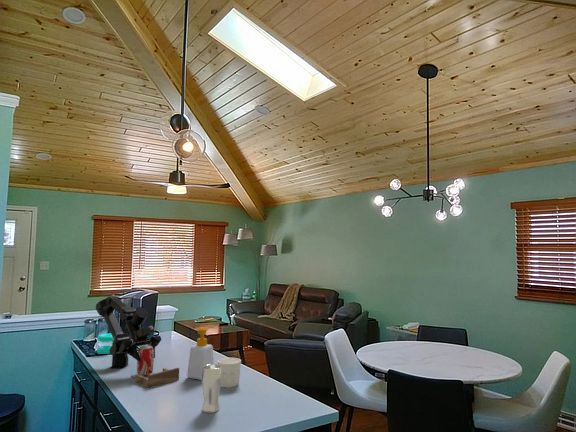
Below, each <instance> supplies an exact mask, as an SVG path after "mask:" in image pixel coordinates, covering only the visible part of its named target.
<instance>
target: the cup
mask: <svg viewBox="0 0 576 432" xmlns="http://www.w3.org/2000/svg"><path fill="white" fill-rule="evenodd" d="M241 364H242V359H240V358H237V357H223V358H219V359H218V360H217V365H220V366H221V387H222V388H223V387H224V388H233V387H234V388H235V387H236V386H238V385H239V384H240V376H241ZM221 387H220V388H221Z"/></svg>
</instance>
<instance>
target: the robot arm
mask: <svg viewBox="0 0 576 432" xmlns="http://www.w3.org/2000/svg"><path fill="white" fill-rule="evenodd" d="M95 310H96V312H97V314H98V315H99V316H100V317H103V318H104V320H105V322H106V324H107V327H108V330H109V332H110V333H111V334H112V336H113V341H112V344H111V346H112V347H111V348H110V350H109V352H110V354H109V355H110V356H112V358H111V359H112V360H111V366H110V369H124V368H126V367H127V366H128V365H129V356H131V357H132V358H133V359H135V360H136V362H137V361H139V362H140V361H141V360H140V356H139V354H138V349H137V347H141V346H146V345H150V346H153V347H152V348H153V350H154V359H155V358H156V347H157V346H159V344H160V343H161V341H162V337H161V335H159V334H158V335H152V334H153V333H154V332H155V328H154V327H153V325H149V326H148V327H143V328H142V326H141V325H143V324H144V323H145V321H146V319H147V318H148V316H149V311H147V310H146V309H145V308H142V306H137V308H135V307H133V306H128V305H127V304H126V303H124V302H123V301H122V300H121V299H119V297H118V296H117V295H111V296H110V295H109V296H106V297H105V298H104V299H101V300H99V301H98V302H97V303H96V304H95ZM115 311H116V312H117V313H118V314H119V317H118V318H119V319H120V320H121V321H122V322H123V323H124V322H127V323H126V325H125V327H124V330H127V331H128V332H126V333H124V331H123V330H122V327H121V326H120V323H119V321H118V319H117V316H116V314H115ZM150 335H152V336H151V337H150V339H148V338H149V336H150ZM147 339H148V340H147Z"/></svg>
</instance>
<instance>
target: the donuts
mask: <svg viewBox="0 0 576 432" xmlns="http://www.w3.org/2000/svg"><path fill="white" fill-rule="evenodd" d="M96 339H97V341H98V342H100V343H111V342H113V336H112V334H111V332H110V333H101V334H98V336H97V338H96ZM111 347H112V344H111V345H110V344H109V345H107V344H106V345H101V346H99V347H98V348H97V349H96V353H97V354H98V355H100V354H107V355H110V352H109V350H110V348H111Z"/></svg>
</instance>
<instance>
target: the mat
mask: <svg viewBox="0 0 576 432" xmlns="http://www.w3.org/2000/svg"><path fill="white" fill-rule="evenodd" d="M151 374H154V372H152V373H151ZM136 375H139V374H138V373H135V374H131V375H130V377H131V378H134V379H136ZM149 375H150V374H149ZM141 376H142V375H141ZM144 377H146V378H148V375H145V376H144Z"/></svg>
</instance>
